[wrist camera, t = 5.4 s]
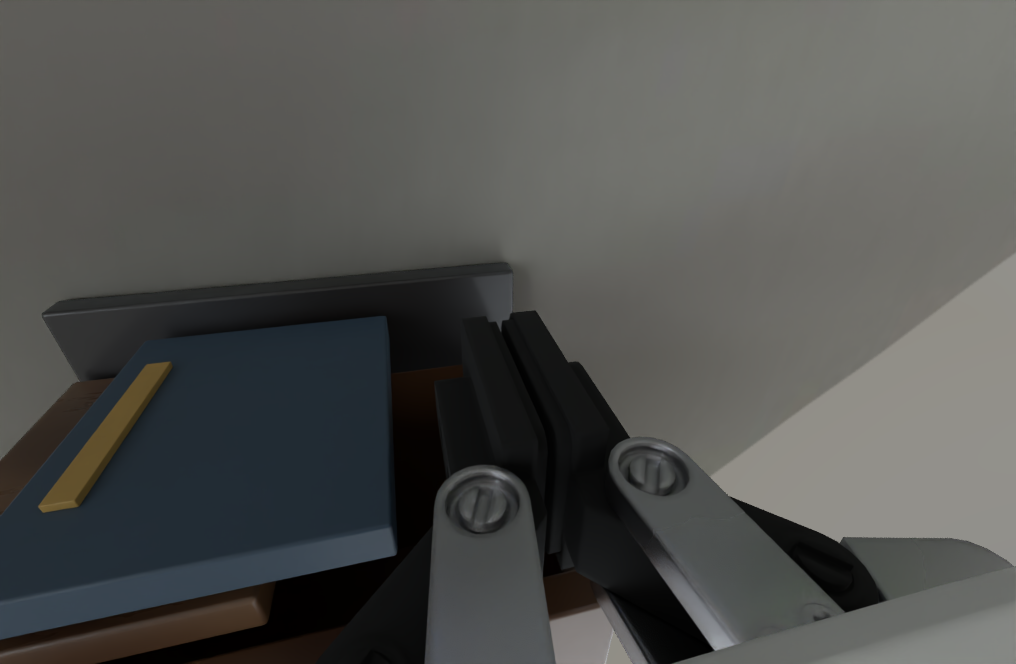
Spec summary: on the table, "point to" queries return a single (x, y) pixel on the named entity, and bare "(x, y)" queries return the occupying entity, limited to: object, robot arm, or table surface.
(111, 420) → the sliding door
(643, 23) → the table surface
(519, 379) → the robot arm
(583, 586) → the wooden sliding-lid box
